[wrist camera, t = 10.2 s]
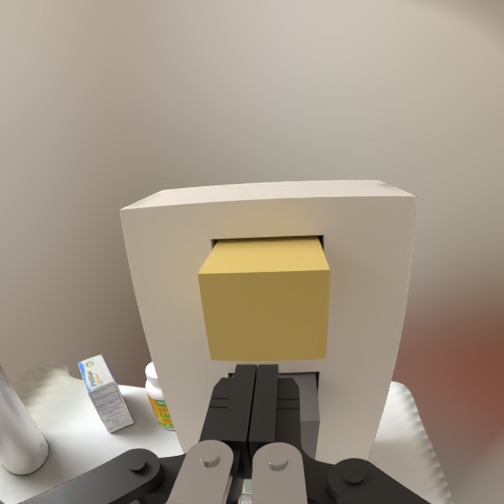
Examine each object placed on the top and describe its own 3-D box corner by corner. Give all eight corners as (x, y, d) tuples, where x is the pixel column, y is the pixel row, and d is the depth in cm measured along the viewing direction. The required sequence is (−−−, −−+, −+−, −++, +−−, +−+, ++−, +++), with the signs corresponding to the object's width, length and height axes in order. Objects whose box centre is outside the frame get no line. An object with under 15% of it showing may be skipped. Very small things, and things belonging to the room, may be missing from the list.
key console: (199, 490, 29) (119, 209, 19) (210, 442, 37) (162, 190, 26) (355, 490, 27) (416, 196, 17) (348, 440, 35) (378, 180, 24)
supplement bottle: (163, 435, 38) (144, 386, 34) (153, 411, 42) (136, 362, 39) (198, 424, 40) (185, 374, 37) (186, 401, 44) (173, 351, 41)
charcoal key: (231, 461, 19) (222, 420, 18) (241, 403, 26) (235, 359, 24) (314, 462, 19) (319, 420, 17) (310, 402, 25) (313, 358, 23)
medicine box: (135, 424, 39) (117, 381, 36) (108, 434, 37) (87, 392, 34) (118, 394, 45) (102, 352, 42) (95, 403, 43) (76, 361, 40)
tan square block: (211, 360, 16) (197, 273, 15) (228, 303, 22) (221, 234, 21) (325, 358, 16) (329, 269, 14) (315, 301, 22) (315, 230, 20)
